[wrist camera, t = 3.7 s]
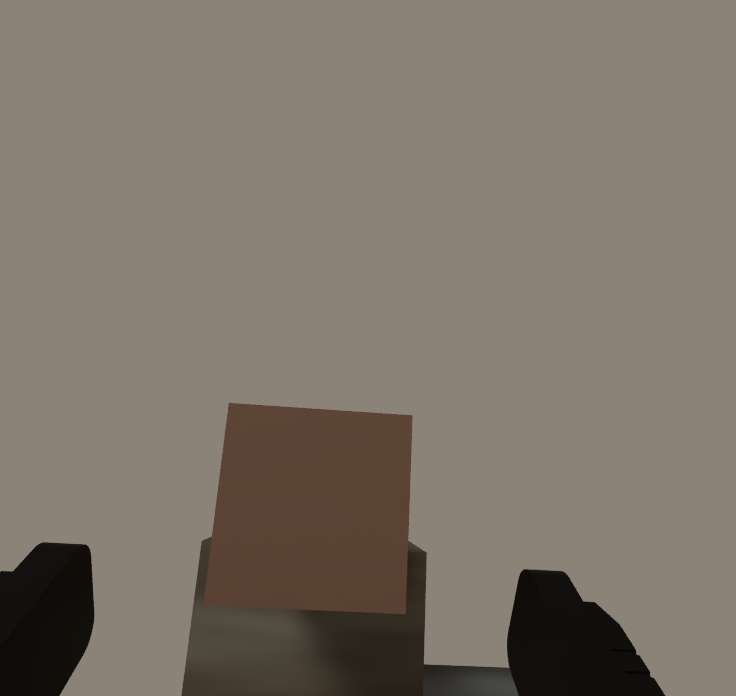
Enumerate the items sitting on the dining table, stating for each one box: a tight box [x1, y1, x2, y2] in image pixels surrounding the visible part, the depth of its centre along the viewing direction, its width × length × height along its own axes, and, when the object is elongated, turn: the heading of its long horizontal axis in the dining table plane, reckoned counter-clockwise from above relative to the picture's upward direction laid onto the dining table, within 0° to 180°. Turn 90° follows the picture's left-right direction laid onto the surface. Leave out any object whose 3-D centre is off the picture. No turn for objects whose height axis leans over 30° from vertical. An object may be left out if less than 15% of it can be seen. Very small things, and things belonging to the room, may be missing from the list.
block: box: [203, 403, 412, 614], centre depth 22 cm, size 26×4×4 cm, turn 4°
